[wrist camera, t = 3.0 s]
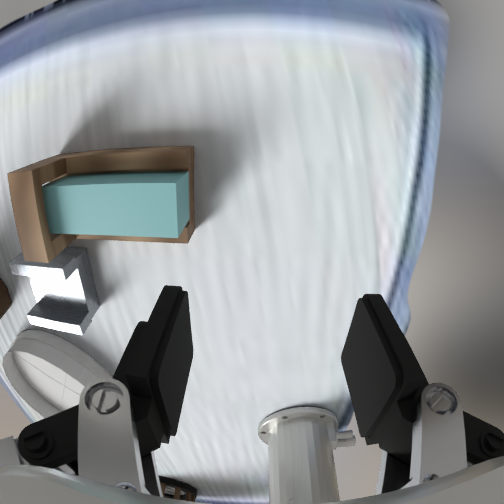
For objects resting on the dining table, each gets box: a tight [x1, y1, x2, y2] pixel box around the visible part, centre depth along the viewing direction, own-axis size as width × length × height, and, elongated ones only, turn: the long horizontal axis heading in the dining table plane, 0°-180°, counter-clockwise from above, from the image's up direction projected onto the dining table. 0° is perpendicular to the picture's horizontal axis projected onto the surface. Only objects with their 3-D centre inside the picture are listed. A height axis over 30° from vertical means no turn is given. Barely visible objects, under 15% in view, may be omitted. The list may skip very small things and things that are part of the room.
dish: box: [3, 330, 113, 418], centre depth 37 cm, size 22×22×5 cm
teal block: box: [42, 171, 190, 238], centre depth 22 cm, size 12×4×4 cm, turn 87°
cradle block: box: [9, 247, 100, 335], centre depth 28 cm, size 8×8×5 cm
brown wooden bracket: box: [8, 146, 195, 263], centre depth 22 cm, size 14×8×8 cm, turn 87°
